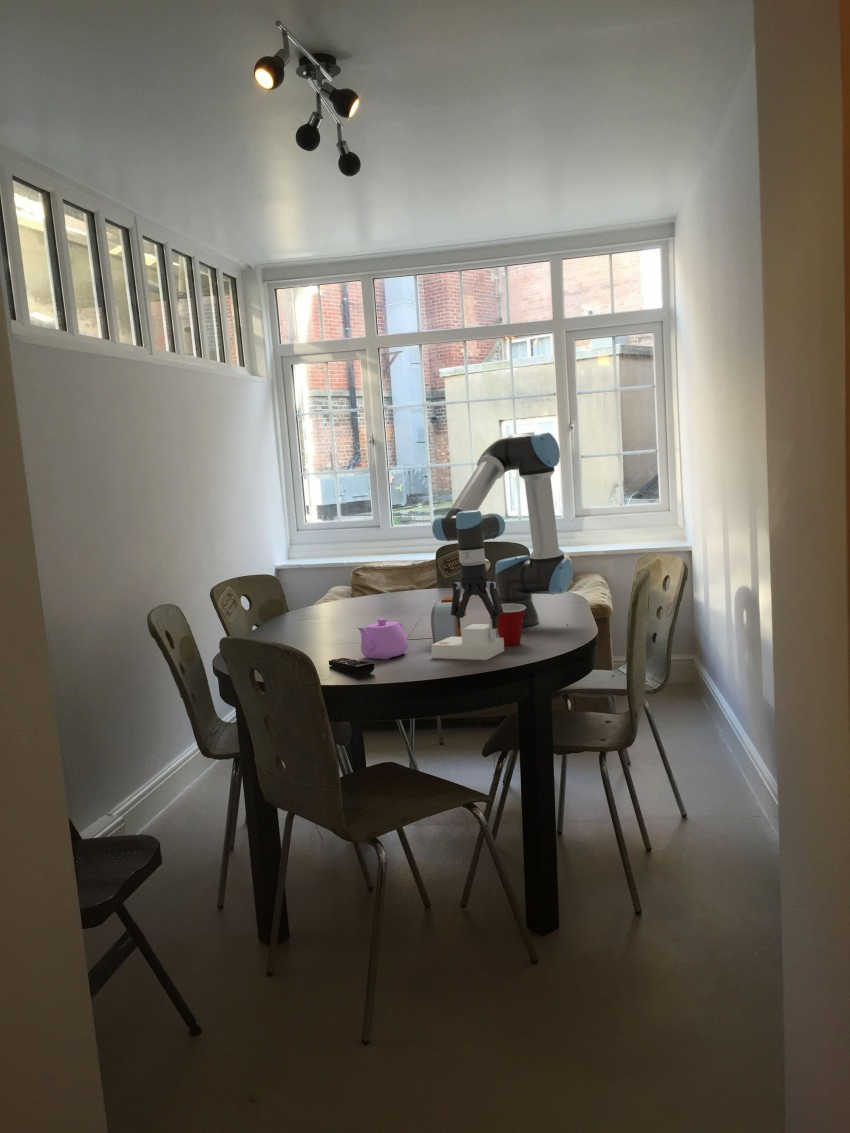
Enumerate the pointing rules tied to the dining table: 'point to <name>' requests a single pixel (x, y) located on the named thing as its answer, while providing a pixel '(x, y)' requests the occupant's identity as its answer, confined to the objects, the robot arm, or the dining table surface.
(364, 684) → the dining table surface
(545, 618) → the dining table surface
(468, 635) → the plug
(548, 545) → the robot arm
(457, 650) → the socket
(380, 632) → the teapot
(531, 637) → the dining table surface
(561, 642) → the dining table surface
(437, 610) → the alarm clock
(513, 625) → the plastic cup
